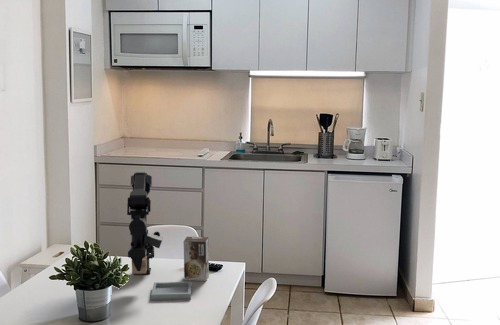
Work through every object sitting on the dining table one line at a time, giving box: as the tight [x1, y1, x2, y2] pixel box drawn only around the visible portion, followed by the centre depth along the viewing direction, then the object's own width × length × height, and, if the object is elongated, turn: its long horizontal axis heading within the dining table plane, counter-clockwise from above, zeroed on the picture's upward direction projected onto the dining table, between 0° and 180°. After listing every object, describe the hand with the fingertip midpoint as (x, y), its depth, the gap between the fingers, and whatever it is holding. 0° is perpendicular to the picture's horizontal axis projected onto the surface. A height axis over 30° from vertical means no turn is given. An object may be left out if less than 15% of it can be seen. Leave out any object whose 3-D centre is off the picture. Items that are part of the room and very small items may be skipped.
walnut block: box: [131, 256, 147, 275], centre depth 210 cm, size 5×5×5 cm
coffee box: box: [183, 236, 210, 282], centre depth 224 cm, size 9×6×16 cm
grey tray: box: [150, 281, 192, 301], centre depth 209 cm, size 12×14×2 cm
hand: (139, 268), depth 210 cm, fingers closed on walnut block, 5 cm apart
